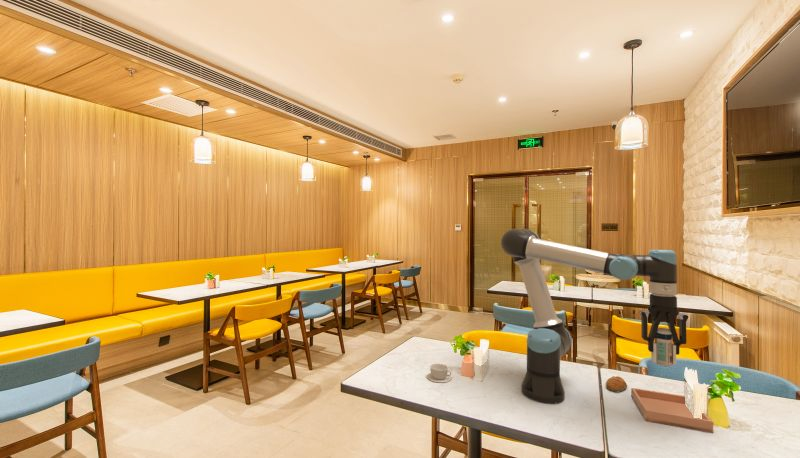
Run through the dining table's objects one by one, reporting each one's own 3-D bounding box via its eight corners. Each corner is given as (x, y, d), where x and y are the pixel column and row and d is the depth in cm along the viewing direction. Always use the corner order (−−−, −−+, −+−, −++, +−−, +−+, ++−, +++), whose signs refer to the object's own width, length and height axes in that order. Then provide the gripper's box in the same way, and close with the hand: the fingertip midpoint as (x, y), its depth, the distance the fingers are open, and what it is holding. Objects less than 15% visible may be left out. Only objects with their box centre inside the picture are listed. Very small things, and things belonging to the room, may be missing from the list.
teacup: (423, 380, 141) (424, 369, 141) (431, 371, 150) (431, 360, 150) (447, 385, 137) (448, 373, 137) (453, 375, 147) (453, 364, 147)
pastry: (621, 395, 132) (621, 385, 132) (601, 389, 137) (601, 379, 137) (628, 388, 138) (628, 378, 138) (609, 382, 143) (609, 373, 143)
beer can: (669, 362, 120) (668, 328, 121) (674, 367, 116) (674, 331, 116) (652, 361, 122) (652, 326, 122) (657, 365, 118) (657, 330, 118)
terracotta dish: (645, 421, 114) (645, 410, 114) (631, 397, 130) (631, 387, 130) (712, 433, 107) (713, 421, 107) (688, 406, 124) (688, 396, 124)
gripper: (635, 294, 119) (635, 362, 119) (700, 298, 113) (700, 370, 112) (629, 291, 126) (630, 355, 126) (690, 294, 120) (691, 362, 119)
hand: (663, 362), depth 119 cm, fingers closed on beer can, 5 cm apart
